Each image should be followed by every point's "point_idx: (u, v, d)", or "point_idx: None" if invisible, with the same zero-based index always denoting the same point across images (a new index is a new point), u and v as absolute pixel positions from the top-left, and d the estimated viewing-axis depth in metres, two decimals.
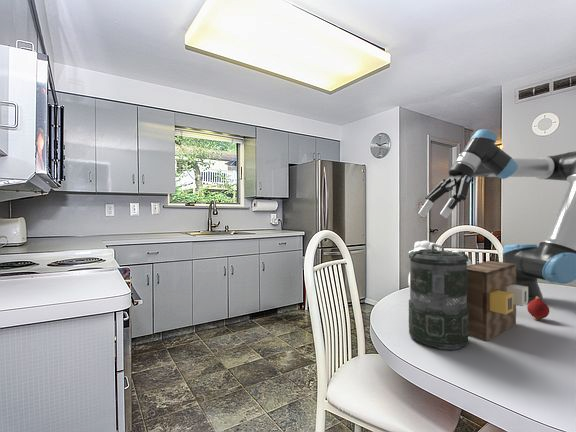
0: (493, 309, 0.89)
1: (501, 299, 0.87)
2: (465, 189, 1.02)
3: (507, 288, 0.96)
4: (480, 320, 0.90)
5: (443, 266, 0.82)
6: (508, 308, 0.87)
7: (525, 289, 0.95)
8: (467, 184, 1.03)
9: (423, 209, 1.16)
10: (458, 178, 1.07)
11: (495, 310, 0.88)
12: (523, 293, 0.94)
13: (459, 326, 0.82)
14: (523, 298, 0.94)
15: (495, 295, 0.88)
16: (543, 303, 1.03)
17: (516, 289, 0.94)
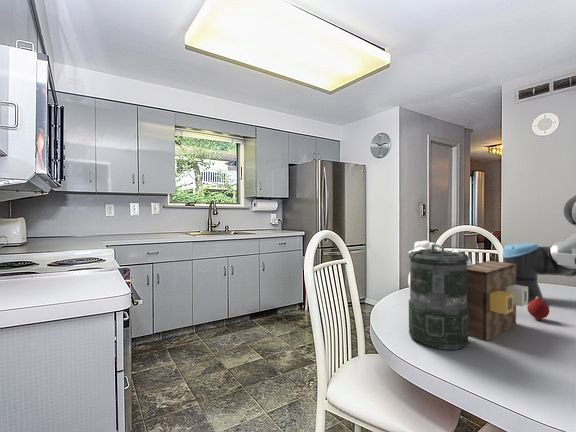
0: (493, 309, 0.89)
1: (501, 299, 0.87)
2: None
3: (507, 288, 0.96)
4: (480, 320, 0.90)
5: (443, 266, 0.82)
6: (508, 308, 0.87)
7: (525, 289, 0.95)
8: None
9: None
10: None
11: (495, 310, 0.88)
12: (523, 293, 0.94)
13: (459, 326, 0.82)
14: (523, 298, 0.94)
15: (495, 295, 0.88)
16: (543, 303, 1.03)
17: (516, 289, 0.94)
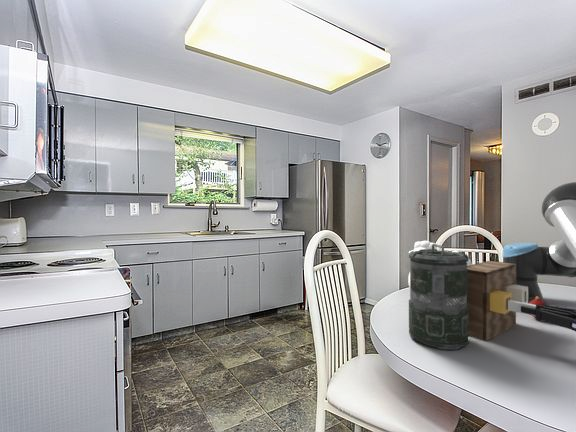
0: (491, 309, 0.89)
1: (500, 299, 0.87)
2: None
3: (507, 288, 0.96)
4: (480, 320, 0.90)
5: (443, 266, 0.82)
6: (506, 308, 0.87)
7: (525, 289, 0.95)
8: None
9: None
10: None
11: (493, 310, 0.89)
12: (523, 293, 0.94)
13: (459, 326, 0.82)
14: (523, 298, 0.94)
15: (493, 295, 0.89)
16: (543, 303, 1.03)
17: (516, 289, 0.94)
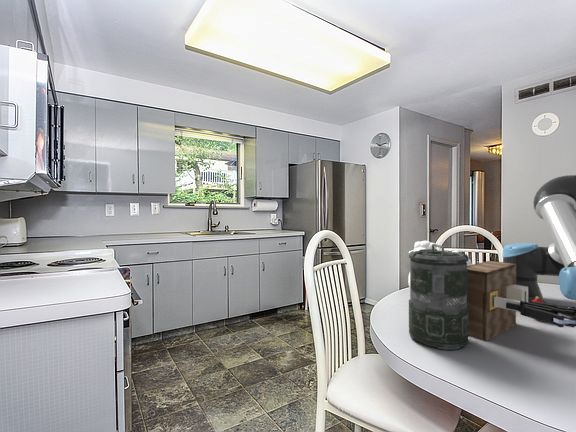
0: None
1: None
2: None
3: (507, 288, 0.96)
4: (480, 320, 0.90)
5: (443, 266, 0.82)
6: (492, 304, 0.90)
7: (525, 289, 0.95)
8: None
9: None
10: None
11: None
12: (523, 293, 0.94)
13: (459, 326, 0.82)
14: (523, 298, 0.94)
15: None
16: None
17: (516, 289, 0.94)
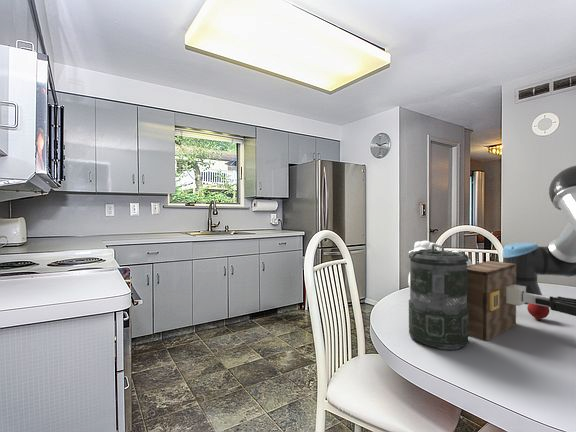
0: None
1: None
2: None
3: None
4: (480, 320, 0.90)
5: (443, 266, 0.82)
6: (494, 305, 0.90)
7: (523, 289, 0.95)
8: None
9: None
10: None
11: None
12: (521, 293, 0.94)
13: (459, 326, 0.82)
14: (521, 298, 0.94)
15: None
16: None
17: (514, 289, 0.95)
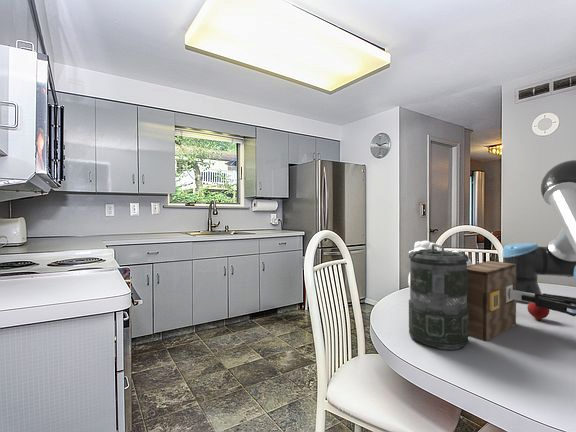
0: None
1: None
2: None
3: None
4: (480, 320, 0.90)
5: (443, 266, 0.82)
6: (494, 305, 0.90)
7: (509, 286, 0.98)
8: None
9: None
10: None
11: None
12: (507, 290, 0.97)
13: (459, 326, 0.82)
14: (507, 295, 0.97)
15: None
16: None
17: None
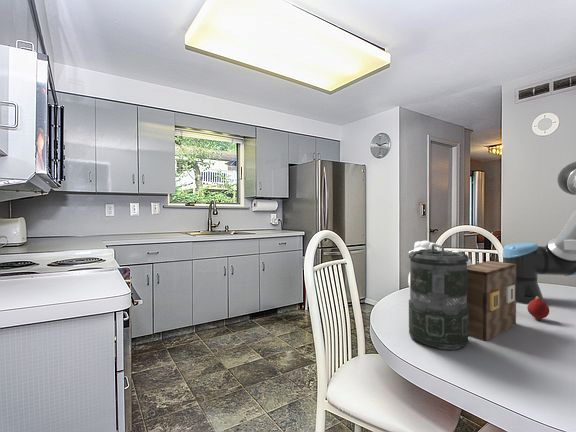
0: None
1: None
2: None
3: None
4: (480, 320, 0.90)
5: (443, 266, 0.82)
6: (494, 305, 0.90)
7: (511, 287, 0.98)
8: None
9: None
10: None
11: None
12: (509, 291, 0.97)
13: (459, 326, 0.82)
14: (509, 295, 0.97)
15: None
16: (543, 303, 1.03)
17: None
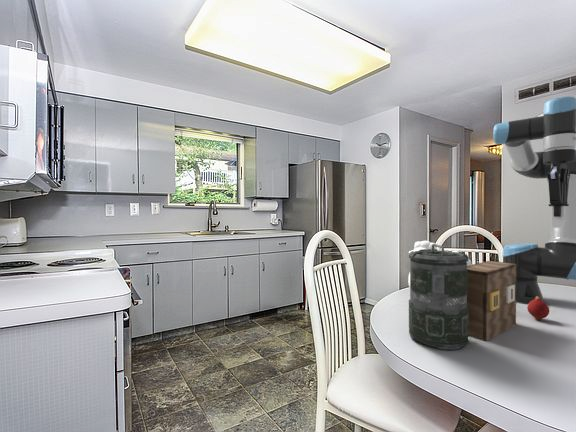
0: None
1: None
2: None
3: None
4: (480, 320, 0.90)
5: (443, 266, 0.82)
6: (494, 305, 0.90)
7: (511, 287, 0.98)
8: None
9: None
10: None
11: None
12: (509, 291, 0.97)
13: (459, 326, 0.82)
14: (509, 295, 0.97)
15: None
16: (543, 303, 1.03)
17: None
